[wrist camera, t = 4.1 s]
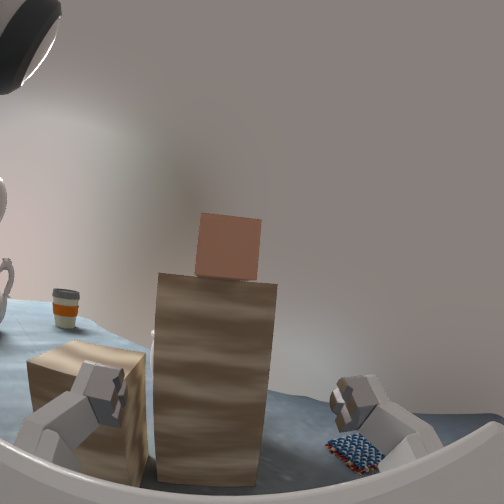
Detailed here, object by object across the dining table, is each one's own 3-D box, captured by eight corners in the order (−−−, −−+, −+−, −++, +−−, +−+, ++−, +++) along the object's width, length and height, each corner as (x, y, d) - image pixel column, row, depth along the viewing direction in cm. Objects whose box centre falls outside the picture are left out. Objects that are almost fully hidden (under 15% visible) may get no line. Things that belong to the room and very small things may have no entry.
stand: (255, 485, 26) (277, 284, 29) (157, 481, 24) (158, 272, 27) (238, 430, 41) (251, 283, 44) (169, 425, 39) (175, 276, 43)
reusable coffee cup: (82, 329, 96) (84, 293, 98) (55, 329, 86) (56, 291, 88) (73, 323, 103) (74, 290, 105) (48, 322, 93) (49, 287, 95)
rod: (256, 280, 18) (261, 219, 19) (194, 274, 18) (201, 212, 18) (225, 281, 46) (227, 256, 46) (200, 278, 45) (203, 254, 46)
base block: (134, 507, 18) (118, 385, 20) (53, 483, 16) (26, 360, 18) (148, 454, 29) (145, 352, 31) (84, 440, 28) (75, 339, 30)
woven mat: (321, 448, 36) (323, 438, 36) (370, 435, 39) (373, 426, 39) (356, 479, 26) (360, 469, 26) (408, 457, 29) (412, 447, 29)
